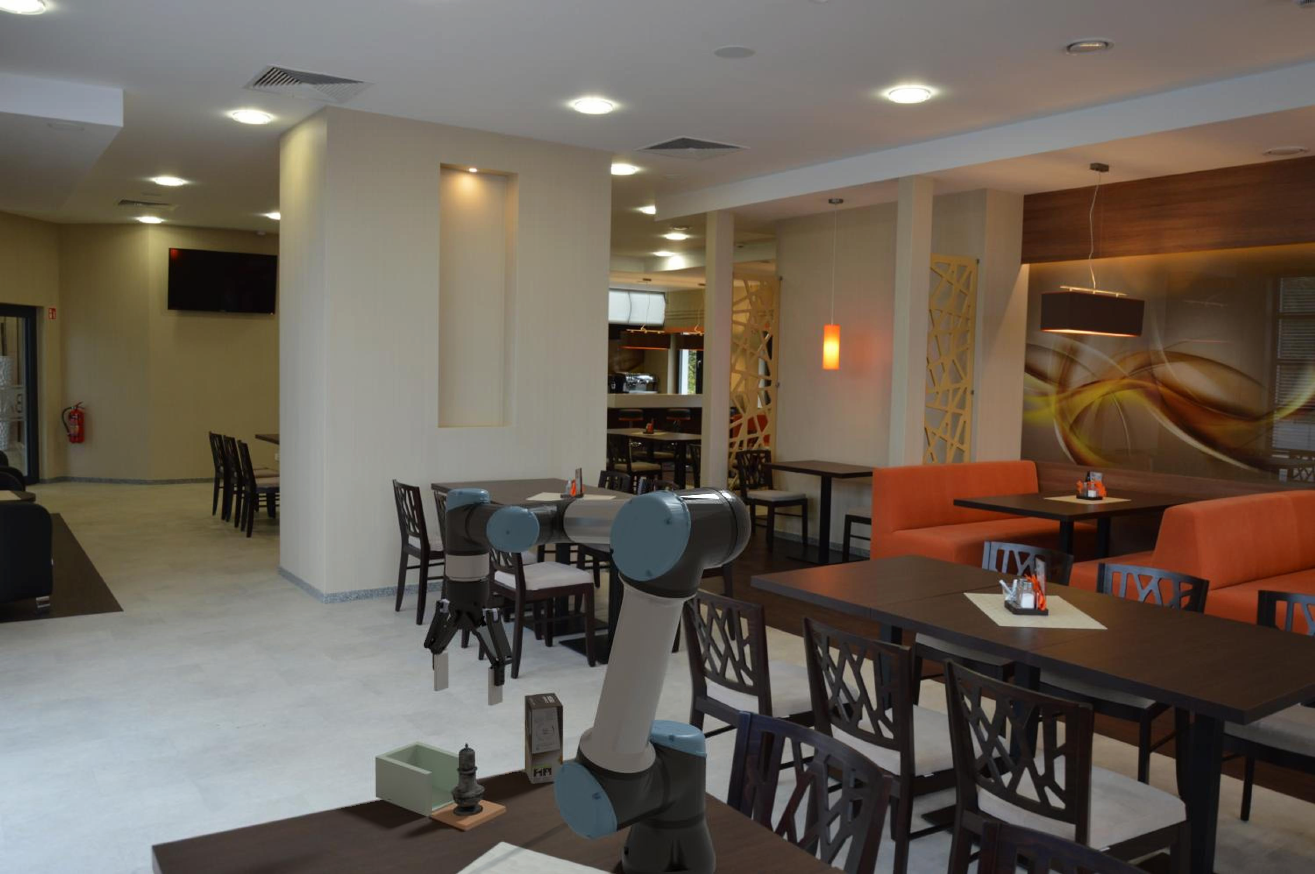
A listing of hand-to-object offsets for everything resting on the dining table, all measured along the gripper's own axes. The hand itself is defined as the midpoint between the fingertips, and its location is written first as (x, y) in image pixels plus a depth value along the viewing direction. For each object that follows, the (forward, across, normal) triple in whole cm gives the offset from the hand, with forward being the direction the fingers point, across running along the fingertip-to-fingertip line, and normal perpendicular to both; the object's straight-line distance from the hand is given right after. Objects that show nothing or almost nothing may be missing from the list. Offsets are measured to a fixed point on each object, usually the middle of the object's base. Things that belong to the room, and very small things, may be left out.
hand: (467, 696), depth 175 cm
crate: (+23, +12, 0) cm, 26 cm away
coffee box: (+23, +2, -22) cm, 32 cm away
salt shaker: (+21, 0, 0) cm, 21 cm away
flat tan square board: (+21, +4, 0) cm, 22 cm away
